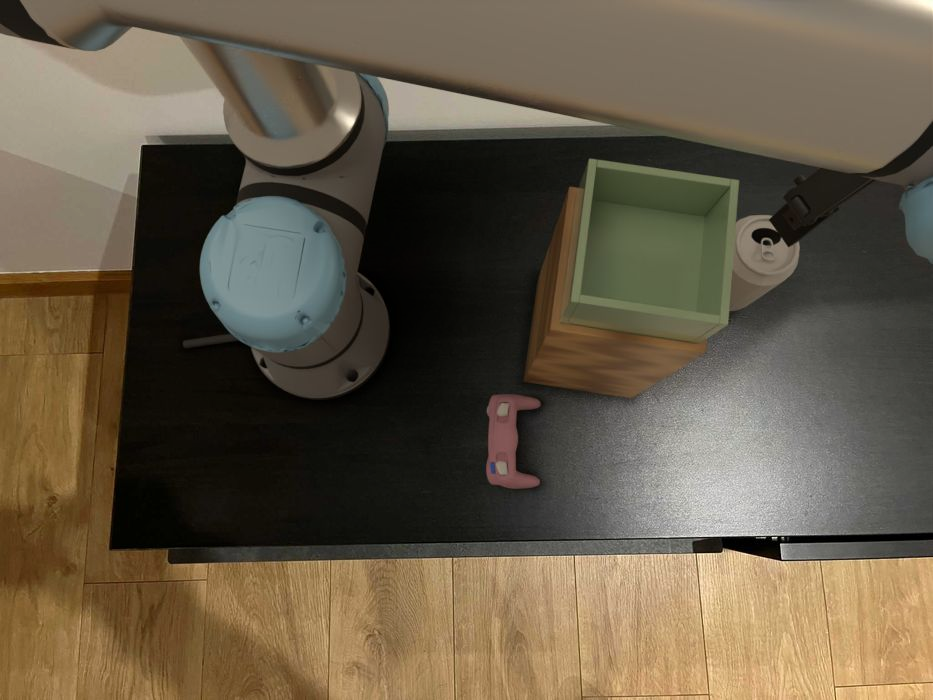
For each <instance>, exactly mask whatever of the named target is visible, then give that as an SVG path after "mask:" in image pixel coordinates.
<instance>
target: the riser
mask: <svg viewBox="0 0 933 700" xmlns="http://www.w3.org/2000/svg"><path fill="white" fill-rule="evenodd" d="M578 188H579V187H575V186H569V187H568V190H567V192H566V196H565V198H564V202H563V204H562V207H561V210H560V214H559V217H558V219H557V222H556V225H555V228H554V230H553V233H552V237H551V240H550V243H549V246H548V249H547V252H546V254H545V257H544V260H543V264H542V265H541V268H540V269H541V270H540V272H539V275H538V277H537V283H536V289H535V290H536V291H535V297H534V304H533V312H532V319H531V325H530V333H529V340H528V346H527V347H528V348H527V353H526V362H525V368H524V374H523V382H524V383H530V384H536V385H543V386H549V387H556V388H562V389H569V390H575V391H576V390H577V391H583V392H587V393H595V394H601V395H607V396H614V397H620V398H621V397H622V398H626V399H632V398H634V397H635V396H638V395H639V394H641V393H642V392H644V391H645V390H648V389H650V388H651V387H652V386H654V385H656V384H657V383H659V382H661V381H662V380H664V379H666V378H667V377H669V376H670V375H672V374H674V373H675V372H677V371H678V370H680V369H682V368H684V367H686V366H687V365H689V364H690V363H692V362H694V361H695V360H697V359H698V358H700V357H702V356H704V355H706V353H707V345H708V338H707V339H706V340H704V341H703V342H701V343H700V344H694V343H687V342H680V341H674V340H667V339H661V338H654V337H648V336H641V335H634V334H628V333H621V332H615V331H608V330H602V329H595V328H588V327H582V326H575V325H569V324H562V323H559V318H560V311H561V303H562V296H563V288H564V281H565V273H566V266H567V258H568V250H569V243H570V235H571V228H572V220H573V213H574V205H575V197H576V193H577V190H578Z"/></svg>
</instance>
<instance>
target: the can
mask: <svg viewBox="0 0 933 700" xmlns="http://www.w3.org/2000/svg"><path fill="white" fill-rule="evenodd" d="M772 216H773V215H769V214H756V215H753V214H752V215H748V216H746V217H742V218H740V219H739V220H738V221H736V229H735V242H734V255H733V267H732V280H731V293H730V305H729V312H736V311H739V310H742V309H744V308H746V307H748V306H749V305H751V304H752V303H754V302H756V301H757V300H758V299H760V298H761V297H763V296H764V295H766V294H767V293H768V292H770V291H772V290H773V289H774V288H776V287H778V286H779V285H780V284H782V283H783V282H785V281H786V280H787V279H788V278H790V277H791V276H792V274H793V273H794V271H795V269H796V268H797V266H798V264H799V259H800V249H801V247H800V241H798V242H797V243H795V244H794V245H792V246H790V247H788V246H787V245H786V243H785V242H784V240H783V239H782V238H781V236H780V235H779V233H778V232H777V231H776V229H775V228H774V226H773V225H772V223H771V222H770V221H769V219H770V218H771V217H772Z"/></svg>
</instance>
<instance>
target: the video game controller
mask: <svg viewBox="0 0 933 700" xmlns="http://www.w3.org/2000/svg"><path fill="white" fill-rule="evenodd" d="M541 406H542V404H541V401H540V400H539V399H538V398H536V397H533V396H528V395H527V396H526V395H520V394H516V393H515V394H514V393H503V394H502V393H501V394H493V395H491V397H490V398H489V401H488V405H487V407H486V414H487V416H488V418H489V420H488V421H489V422H488V434H487V435H488V436H487V437H488V438H487V439H488V440H487V448H488V449H487V452H488V457H487V460H486V466H485V467H486V468H485V470H486V471H485V472H486V478H487V481H488V482H489V483H490V485H493V486H501V487H504V488H507V489H514V490H519V489H532V488H535V487H538V486H539V485H540V484H541V480H540V479H539V478H538V476H537V477H536V476H534V475H533V474H527V473H522V472H520V471H518V470H517V464H516V463H517V459H516V458H517V457H516V452H517V448H518V444H519V434H518V428H517V416H518V415H517V413H518V411H528V410H529V411H530V410H535V409H539V408H540V407H541Z"/></svg>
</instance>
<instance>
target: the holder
mask: <svg viewBox="0 0 933 700" xmlns="http://www.w3.org/2000/svg"><path fill="white" fill-rule="evenodd" d="M577 188H578V190H577V193H576V197H575V205H574V213H573V220H572V228H571V235H570V243H569V250H568V258H567V266H566V273H565V281H564V288H563V296H562V303H561V311H560V318H559V323H562V324H569V325H575V326H582V327H588V328H595V329H602V330H608V331H615V332H621V333H628V334H634V335H641V336H648V337H654V338H661V339H667V340H674V341H680V342H687V343H694V344H700V343H701V342H703V341H704V340H706V339H707V340H708V339H709V338H711V337H712V336H713V335H715V334H716V333H718V332H719V331H721V330H723V329H724V328H726V327H727V326H728V325H729V318H730V317H729V316H730V311H729V305H730V293H731V280H732V267H733V255H734V242H735V229H736V222H737V217H738V216H737V215H738V205H739V204H738V203H739V191H740V190H739V189H740V180H739V179H734V178H726V177H719V176H714V175H707V174H699V173H692V172H685V171H678V170H671V169H665V168H657V167H650V166H644V165H637V164H630V163H624V162H617V161H609V160H604V159H596V158H589V159H588V161H587V163H586V166H585V169H584V171H583V174H582V177H581V180H580V183H579V185H578V187H577Z"/></svg>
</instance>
